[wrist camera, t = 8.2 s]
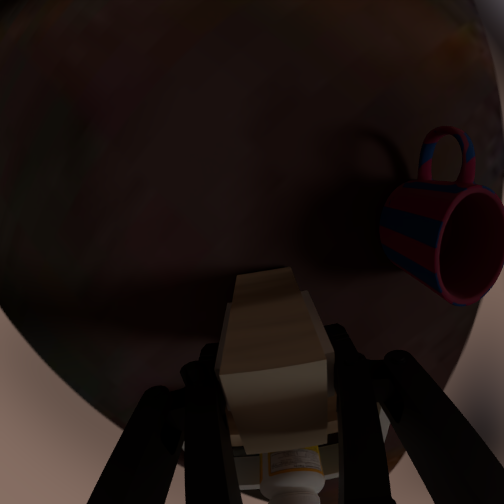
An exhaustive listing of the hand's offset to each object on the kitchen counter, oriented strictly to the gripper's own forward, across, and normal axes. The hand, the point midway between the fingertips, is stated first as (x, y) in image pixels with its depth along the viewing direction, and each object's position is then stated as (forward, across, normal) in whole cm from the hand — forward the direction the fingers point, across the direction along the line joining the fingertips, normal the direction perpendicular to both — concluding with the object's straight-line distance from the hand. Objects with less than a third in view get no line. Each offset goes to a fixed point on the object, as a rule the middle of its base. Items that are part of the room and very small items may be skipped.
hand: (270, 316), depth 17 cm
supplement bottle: (+2, 0, -14) cm, 15 cm away
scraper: (+1, 0, -3) cm, 3 cm away
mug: (+2, +12, +5) cm, 13 cm away
